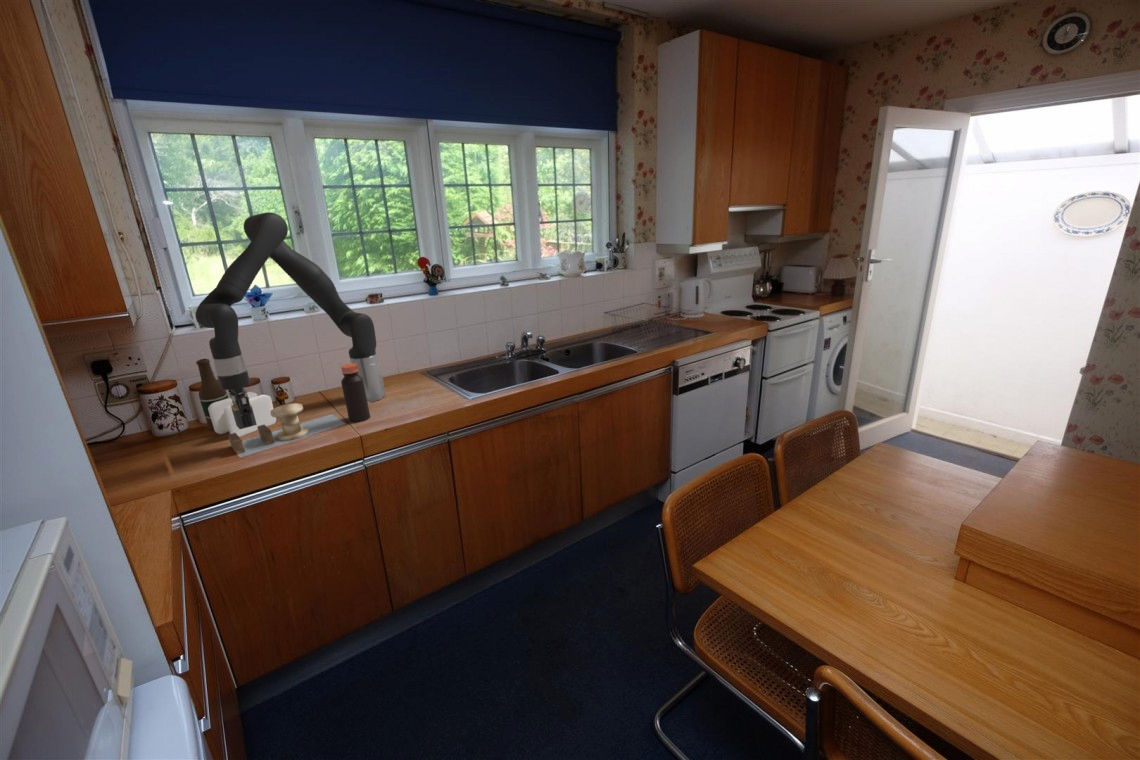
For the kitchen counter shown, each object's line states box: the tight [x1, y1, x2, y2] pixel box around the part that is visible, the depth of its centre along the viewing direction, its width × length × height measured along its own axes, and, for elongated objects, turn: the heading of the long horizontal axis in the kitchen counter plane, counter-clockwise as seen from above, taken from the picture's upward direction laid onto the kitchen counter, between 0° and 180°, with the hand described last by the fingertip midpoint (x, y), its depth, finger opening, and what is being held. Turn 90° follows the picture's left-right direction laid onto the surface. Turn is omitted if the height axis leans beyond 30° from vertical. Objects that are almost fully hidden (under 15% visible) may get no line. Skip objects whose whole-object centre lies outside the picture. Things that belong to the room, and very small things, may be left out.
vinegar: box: [340, 362, 371, 424], centre depth 167 cm, size 7×7×20 cm
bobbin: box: [270, 403, 309, 441], centre depth 158 cm, size 9×9×9 cm
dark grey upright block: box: [231, 404, 257, 429], centre depth 150 cm, size 4×4×7 cm
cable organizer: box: [208, 391, 277, 438], centre depth 165 cm, size 15×11×12 cm
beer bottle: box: [195, 358, 229, 431], centre depth 168 cm, size 8×8×24 cm
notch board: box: [227, 425, 274, 455], centre depth 153 cm, size 10×8×4 cm
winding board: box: [236, 414, 347, 459], centre depth 160 cm, size 31×13×1 cm, turn 134°
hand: (246, 424), depth 151 cm, fingers closed on dark grey upright block, 4 cm apart
